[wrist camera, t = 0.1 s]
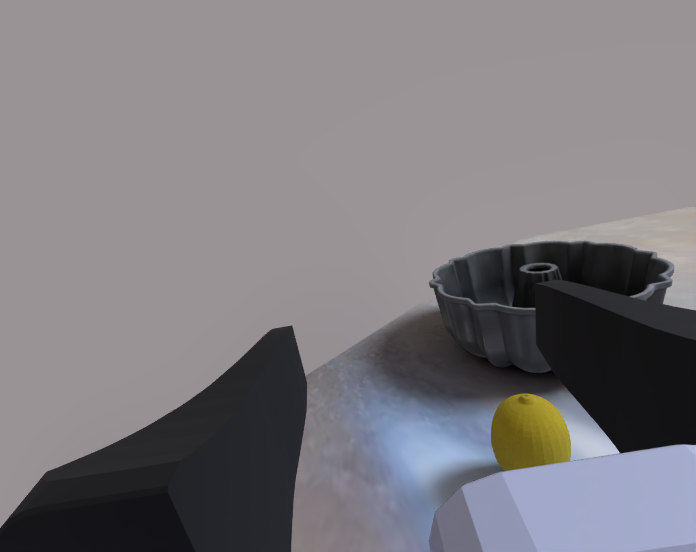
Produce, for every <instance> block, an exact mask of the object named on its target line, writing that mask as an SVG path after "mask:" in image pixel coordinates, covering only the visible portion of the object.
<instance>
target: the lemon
mask: <svg viewBox="0 0 696 552" xmlns="http://www.w3.org/2000/svg"><path fill="white" fill-rule="evenodd" d="M491 442H492V448H493V451H494V454H495V457H496V459H497V462H498V463H499V465H500V466H501V468H502V469H503V470H504V471H509V470H516V469H522V468H529V467H535V466H542V465H548V464H555V463H561V462H568V461H570V457H571V442H570V435H569V432H568V429H567V426H566V424H565V421H564V419H563V417H562V415H561V413H560V412H559V411H558V410H557V409H556V407H555V406H554V405H553V404H551V403H550V402H549V401H547V400H546V399H544V398H542V397H539V396H536V395H533V394H517V395H513V396H511V397H509V398H507V399H505V400H504V401H503V402H502V403H501V404H500V405H499V406H498V408H497V410H496V412H495V414H494V417H493V421H492V427H491Z"/></svg>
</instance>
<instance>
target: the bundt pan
mask: <svg viewBox="0 0 696 552" xmlns="http://www.w3.org/2000/svg"><path fill="white" fill-rule="evenodd" d="M673 273H674V265H673V264H672V263H671V262H669V261H667V260H665V259H661V258H658V257H657V253H656V252H652V251H642V250H638V249H637V248H634V247H632V246H628V245H623V244H615V243H594V242H590V241H575V242H566V241H542V242H533V243H527V244H510V245H506V246H503V247H499V248H490V249H484V250H479V251H475V252H472V253H470V254H467V255H465V256H464V257H459V258H454V259H451V260H449V263H448V264H445V265H443V266H440V267H439V268H437V269H435V270H434V272H433V280H431V281H430V282H429V284H430V287H431V288H434V291H435V295H436V298H437V302H438V305H439V308H440V312H441V315H442V318H443V322H444V324H445V327H446V329H447V330H448V332H449V333H450V334H451V335H452V336H453V337H454V338H455V339H457V341H458V342H459V344H460V345H461V346H462V347H463V348H464V349H465V350H467V351H468V352H470V353H471V354H473V355H476V356H479V357H484V358H487V359H488V360H489V361H490V362H491V363H492V364H493V365H494V366H496V367H500V368H502V367H507V366H510V365H512V364H514V365H515V366H517V367H518V368H520V369H522V370H524V371H527V372H533V373H543V372H547V371H550V370H552V369H551V368H550V366H549V365H548V363H547V362H546V360H545V359H544V357H543V355H542V354H541V352H540V350H539V349H538V347H537V345H536V310H535V283H541V282H547V281H552V280H563V281H568V282H573V283H578V284H582V285H586V286H590V287H594V288H598V289H601V290H605V291H609V292H613V293H617V294H621V295H625V296H629V297H633V298H637V299H641V300H645V301H650V302H655V303H659V304H663V301H664V297H665V293H666V289H667V288H668V287H670V286H672V279H671V278H669V277H671V276H672V275H673Z"/></svg>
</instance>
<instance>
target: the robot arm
mask: <svg viewBox="0 0 696 552" xmlns="http://www.w3.org/2000/svg"><path fill="white" fill-rule="evenodd" d="M535 310H536V345H537V347H538V349H539V350H540V352H541V354H542V355H543V357H544V359H545V360H546V362H547V363H548V365H549V366H550V368H551V369H552V371H553V372H554V374H555V375H556V376H557V377H558V378H559V380H560V381H561V382H562V383H563V384H564V386H565V387H566V388H567V389H568V390H569V392H570V393H571V394H572V395H573V396H574V397H575V398H576V400H577V401H578V402H579V403H580V404H581V405H582V407H583V408H584V409H585V410H586V411H587V412H588V414H589V415H590V416H591V417H592V418H593V419H594V421H595V422H596V423H597V424H598V425H599V426H600V428H601V429H602V430H603V431H604V432H605V434H606V435H607V436H608V437H609V439H610V440H611V441H612V443H613V444H614V445H615V446H616V448H617V449H618V451H619V452H620V454H613V455H607V456H600V457H594V458H587V459H581V460H574V461H568V462H561V463H555V464H548V465H542V466H535V467H529V468H522V469H516V470H509V471H503V472H498V473H495V474H492V475H489V476H486V477H484V478H481V479H478V480H475V481H472V482H470V483H467V484H464V485H463V486H462V487H461V488H460V489H459V490H458V491H457V492H455V493H454V494H453V495H452V496H451V497H450V498H449V499H448V500H447V501H446V502H445V503H444V504H443V505H442V506H441V507H440V508H439V509H438V510H437V511H436V512H435V515H434V519H433V524H432V529H431V533H430V538H429V545H430V551H431V552H696V310H690V309H684V308H679V307H673V306H669V305H664V304H659V303H655V302H650V301H645V300H641V299H637V298H633V297H629V296H625V295H621V294H617V293H613V292H609V291H605V290H601V289H598V288H594V287H590V286H586V285H582V284H578V283H573V282H568V281H563V280H552V281H547V282H541V283H535ZM306 409H307V381H306V377H305V373H304V369H303V366H302V362H301V358H300V354H299V351H298V346H297V343H296V339H295V336H294V331H293V327H292V326H287V327H281V328H275V329H272V330H270V331H269V332H268V333H267V334H266V335H265V336H263V337H262V338H261V339H260V340H259V341H258V342H257V343H256V344H255V345H254V346H253V347H252V348H251V349H250V350H249V351H248V352H247V353H246V354H245V355H244V356H243V357H242V358H241V359H240V360H238V362H236V363H235V364H234V365H233V366H232V367H231V368H230V369H228V370H227V371H226V372H225V373H224V374H223V375H221V376H220V377H219V378H218V379H217V380H216V381H215V382H213V383H212V384H211V385H210V386H208V387H207V388H206V389H204V390H203V391H202V392H200V393H199V394H197V395H196V396H195V397H193V398H192V399H190V400H189V401H188V402H186V403H185V404H183V405H182V406H180V407H178V408H177V409H175V410H173V411H172V412H170V413H168V414H167V415H165V416H164V417H162V418H160V419H159V420H157V421H155V422H154V423H152V424H150V425H148V426H147V427H145V428H143V429H141V430H139V431H137V432H135V433H134V434H132V435H130V436H128V437H126V438H124V439H121V440H119V441H118V442H115V443H113V444H111V445H109V446H107V447H105V448H103V449H101V450H98V451H96V452H94V453H91V454H89V455H86V456H84V457H82V458H79V459H77V460H75V461H72V462H70V463H67V464H65V465H63V466H60V467H58V468H55V469H53V470H50V471H48V472H46V473H45V474H44V475H43V477H42V478H41V479H40V480H39V482H38V483H37V484H36V485H35V486H34V488H33V489H32V490H31V491H30V493H29V494H28V495H27V496H26V497H25V499H24V500H23V501H22V502H21V503H20V505H19V506H18V507H17V508H16V510H15V511H14V512H13V513H12V514H11V516H10V517H9V518H8V519H7V521H6V522H5V523H4V524H3V526H2V527H1V528H0V552H291V536H292V517H293V499H294V489H295V480H296V474H297V468H298V461H299V455H300V449H301V443H302V437H303V431H304V424H305V418H306Z"/></svg>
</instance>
